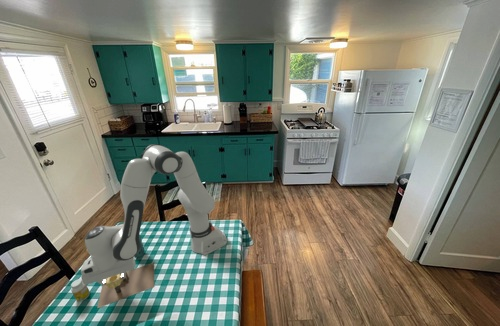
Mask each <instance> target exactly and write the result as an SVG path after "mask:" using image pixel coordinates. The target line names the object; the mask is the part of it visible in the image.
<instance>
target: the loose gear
mask: <svg viewBox="0 0 500 326" xmlns="http://www.w3.org/2000/svg"><path fill="white" fill-rule="evenodd" d="M122 281H123V279H122V278H121V274H117V275H114V276H111V277H108V278H107V280H105V283H106V286H107V288H108V289H110V288H112V289H114V288H115V287H117V286H119V285H120V284H121V282H122Z"/></svg>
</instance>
